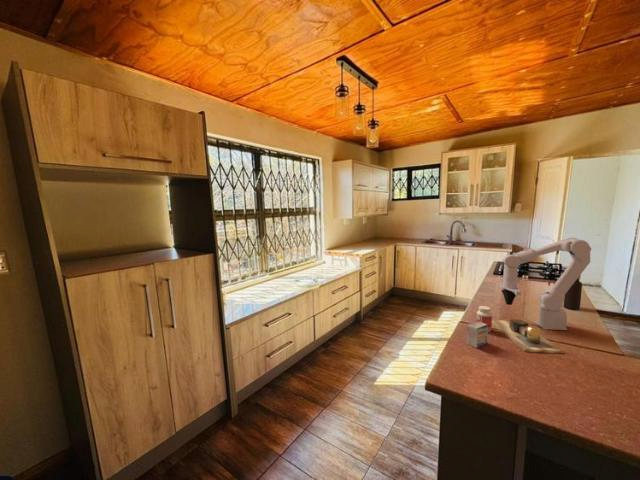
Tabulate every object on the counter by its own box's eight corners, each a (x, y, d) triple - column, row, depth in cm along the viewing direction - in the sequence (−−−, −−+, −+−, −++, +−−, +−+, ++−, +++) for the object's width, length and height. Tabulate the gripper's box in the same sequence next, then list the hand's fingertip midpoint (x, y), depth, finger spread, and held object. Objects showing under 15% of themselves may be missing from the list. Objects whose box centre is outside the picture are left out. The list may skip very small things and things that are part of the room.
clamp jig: (519, 322, 131) (520, 312, 130) (563, 353, 103) (564, 340, 103) (489, 321, 133) (490, 312, 132) (524, 351, 105) (525, 339, 105)
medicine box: (476, 348, 109) (477, 328, 108) (466, 343, 113) (466, 324, 112) (487, 343, 112) (488, 324, 111) (477, 339, 116) (478, 320, 115)
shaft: (520, 327, 123) (521, 319, 122) (533, 336, 114) (534, 328, 114) (509, 327, 124) (509, 319, 123) (521, 336, 115) (521, 327, 114)
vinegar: (566, 309, 145) (569, 274, 143) (560, 305, 151) (563, 272, 149) (582, 311, 142) (585, 275, 140) (576, 306, 149) (579, 272, 146)
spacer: (537, 339, 112) (537, 326, 111) (542, 344, 108) (542, 330, 107) (525, 338, 113) (525, 325, 113) (529, 343, 109) (529, 329, 109)
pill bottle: (493, 330, 124) (494, 307, 123) (487, 333, 121) (488, 311, 119) (479, 325, 129) (480, 304, 128) (473, 329, 126) (474, 307, 125)
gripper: (494, 274, 139) (493, 299, 140) (510, 282, 125) (508, 309, 126) (508, 274, 138) (507, 299, 139) (526, 282, 124) (524, 309, 125)
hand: (508, 304), depth 133 cm, fingers closed
